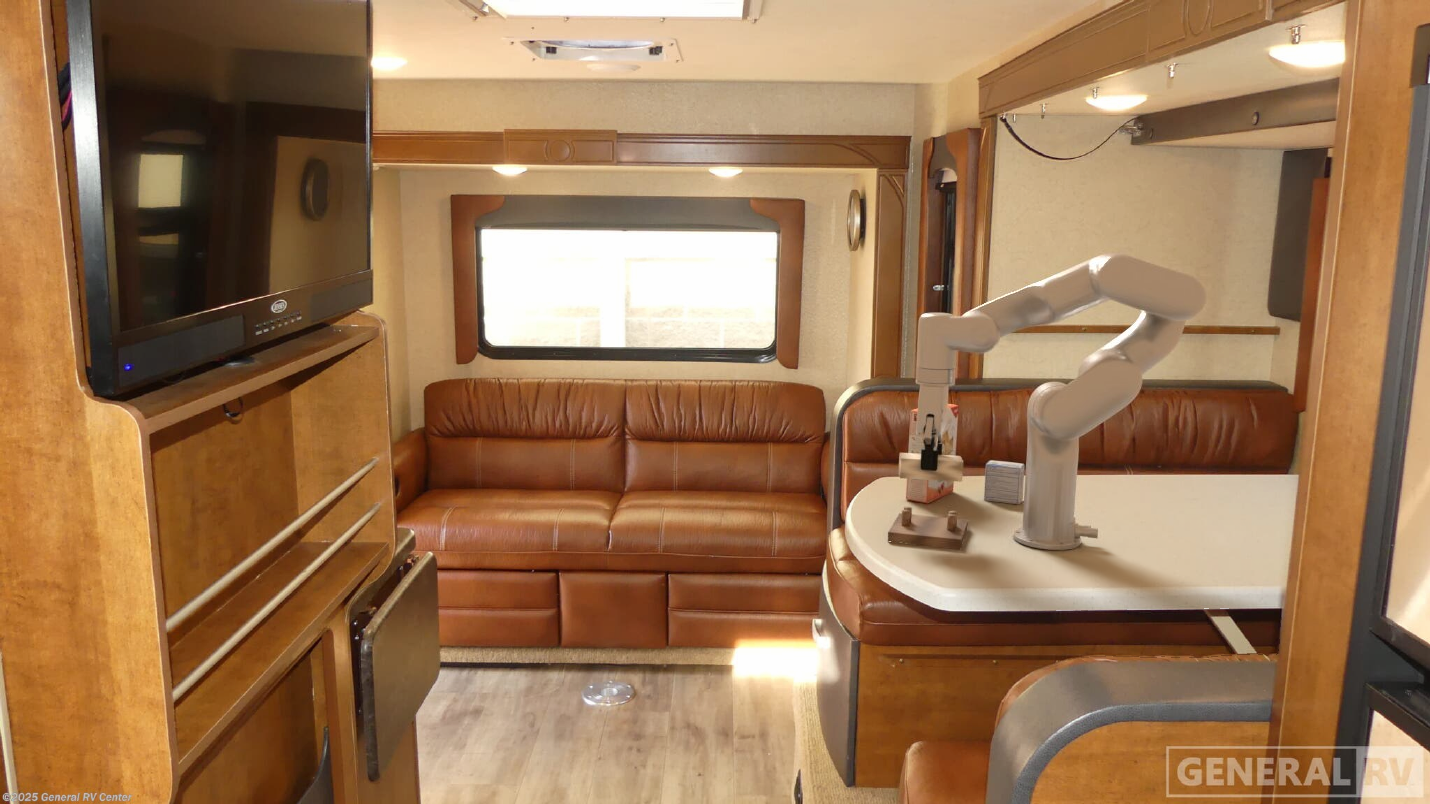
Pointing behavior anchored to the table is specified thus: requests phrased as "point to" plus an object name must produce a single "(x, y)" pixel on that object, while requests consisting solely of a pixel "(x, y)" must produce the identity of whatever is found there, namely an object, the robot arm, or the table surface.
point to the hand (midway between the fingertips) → (931, 465)
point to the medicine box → (1004, 482)
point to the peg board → (928, 530)
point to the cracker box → (936, 488)
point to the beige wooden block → (946, 470)
